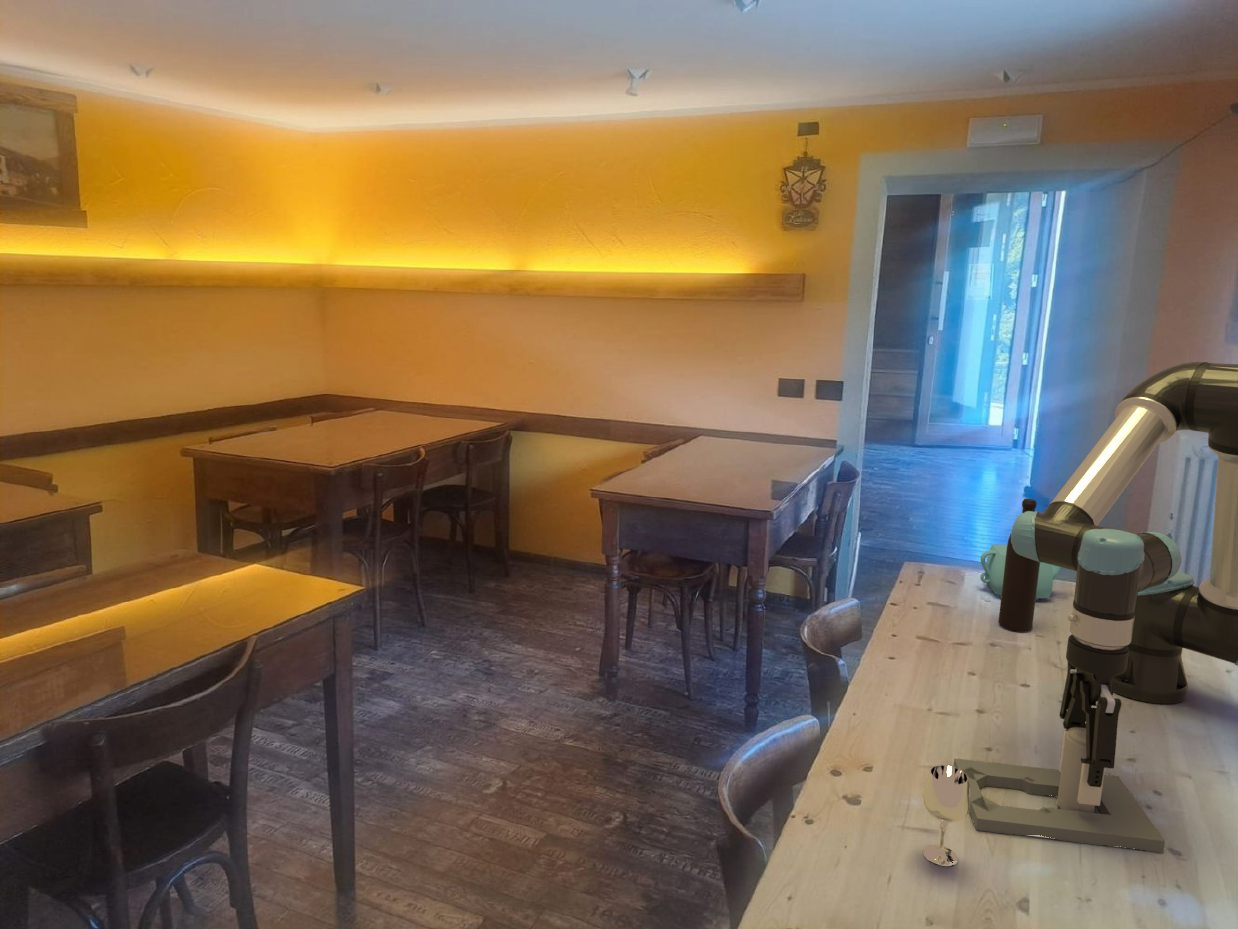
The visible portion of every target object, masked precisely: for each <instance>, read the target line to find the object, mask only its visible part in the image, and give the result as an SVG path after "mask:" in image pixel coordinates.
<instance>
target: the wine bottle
mask: <svg viewBox="0 0 1238 929" xmlns="http://www.w3.org/2000/svg"><path fill="white" fill-rule="evenodd" d="M1037 504H1038V503H1037V500H1035V499H1033V498H1023V500H1022V502H1021V507H1022V510H1021V514H1022V513H1025V512H1026V511H1032V512H1036V508H1037ZM1006 545H1007V551H1006V560H1005V568H1004V577H1003V586H1002V595H1000V607H999V612H998V613H999V616H998V625H999V626H1000V628H1002V629H1005V630H1007V631H1010V632H1016V633H1027V632H1030V631H1032V630H1033V624H1034V617H1035V615H1034V614H1035V607H1036V601H1035V600H1036V592H1037V584H1038V576H1039V567H1040V562H1037V561H1035V560H1032V559H1029V558H1026V557H1023V556H1021V555H1019V554H1017V553H1016V552H1015V551H1014V549H1013V547H1012V546H1013V545H1012V543H1011V533H1010V534H1009V537H1008V540H1007V544H1006Z"/></svg>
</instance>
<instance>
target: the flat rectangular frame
mask: <svg viewBox="0 0 1238 929" xmlns="http://www.w3.org/2000/svg"><path fill="white" fill-rule="evenodd" d="M953 767H955V768H957V769H960V770H961V771H963V772H964V773H965V774H966V775H967V777H968V781H969V787H970V807H969V811H970V812H969V811H968V812H969V814H970V813H971V815H970V817H972V818H971V820H972V819H973V820H972V822H973V821H974V823H973V825H974V824H975V826H974V828H976V829H977V830H976V829H975V830H976V831H979V832H980V831H982V832H990V833H997V834H998V833H999V834H1004V835H1005V834H1007V835H1013V834H1015V836H1021V835H1040V836H1041V835H1042V836H1044V837H1045V836H1046V837H1049V838H1050V837H1051V838H1055V839H1060V840H1059V841H1062V840H1063V842H1073V843H1079V844H1086V845H1094V844H1095V845H1096V846H1102V845H1109V846H1108V847H1111V846H1119V847H1120V846H1121V847H1126V848H1125V849H1127V848H1135V849H1140V850H1139V851H1143V850H1146V851H1145V852H1151V851H1153V853H1159V852H1162V853H1161V854H1164V850H1165V842H1166V841H1165V839H1164V838H1163V836H1162V835H1161V833H1160V832H1159V831H1158V829H1157V828H1156V826H1155V825H1154V824H1153V822H1152V821H1151V819H1150V818H1149V816H1148V815H1147V814H1146V812H1145V811H1144V810H1143V808H1142V807H1141V806H1140V804H1139V802H1138V801H1137V800H1136V799H1135V797H1134V796H1133V794H1132V793H1131V792H1130V790H1129V789H1128V787H1127V785H1126V784H1125V783H1124V781H1123V780H1122V779H1121V778H1120V776H1119V775H1109V774H1104V780H1103V787H1102V794H1101V801H1100V806H1097V805H1095V807H1097V809H1098V808H1099V809H1098V811H1099V810H1100V811H1099V812H1100V813H1097V812H1096V813H1095V812H1094V813H1090V812H1081V811H1073V810H1064V809H1060V808H1054V807H1047V806H1046V807H1045V806H1042V807H1041V808H1039V809H1036V808H1035V809H1034V808H1033V809H1032V808H1025V807H1024V808H1023V807H1017V806H1008V805H1007V806H1006V805H1000V804H999V803H996V802H994V801H993V800H991V799H989V798H987V797H985V796H984V795H983V794H982V792H981V789H982V788H985V787H992V788H994V787H995V788H1000V789H1001V788H1003V789H1012V790H1020V791H1023V792H1025V793H1026V792H1027V793H1026V794H1028V793H1029V795H1034V794H1036V795H1037V794H1038V795H1037V796H1043V795H1050V796H1049V797H1052V796H1057V797H1056V798H1058V791H1059V784H1060V776H1061V772H1060V771H1059V769H1054V768H1053V769H1052V768H1047V767H1035V766H1026V765H1019V764H1018V765H1017V764H1009V763H1000V762H999V763H997V762H992V761H990V762H989V761H982V760H981V761H980V760H973V759H972V760H971V759H964V758H963V759H962V758H956V757H955V758H954V759H953ZM1051 795H1052V796H1051ZM1101 813H1102V814H1101ZM1017 834H1018V835H1017ZM1119 847H1118V848H1119ZM1135 849H1134V850H1135ZM1154 851H1155V852H1154Z"/></svg>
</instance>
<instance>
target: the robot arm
mask: <svg viewBox="0 0 1238 929" xmlns="http://www.w3.org/2000/svg"><path fill="white" fill-rule="evenodd" d="M1114 417H1115V419H1114V420H1113V422H1112V423H1111V424H1110V425H1109V427H1108V428H1107V429H1106V431H1105V432H1104V433H1103V434H1102V436H1101V437H1100V438H1099V440H1098V442H1096V444H1095V445H1094V446H1093V447H1092V449H1091V450H1090V451H1089V453H1087V456H1085V458H1084V459H1083V461H1082V462H1081V463H1080V465H1078V467H1077V469H1075V471H1074V472H1073V473H1072V475H1071V476H1070V478H1069V479H1067V482H1065V484H1064V486H1063V487H1062V488H1061V489H1060V490H1059V491H1058V493H1057V494H1056V496H1055V497H1053V500H1051V502H1050V503H1049V504H1048V505H1047V507H1046V508H1045V509H1044V510H1043V512H1040V511H1037V510H1035V512H1032V511H1026V512H1025V513H1022V512H1021V513H1020V514H1019V515H1018V516H1017V518H1016V519H1015V521H1014V523H1013V525H1012V528H1011V533H1010V534H1011V543H1012V545H1013V546H1012V547H1013V549H1014V551H1015V552H1016V553H1017V554H1019V555H1021V556H1023V557H1026V558H1029V559H1032V560H1035V561H1037V562H1040V563H1042V562H1043V563H1047V564H1051V565H1055V566H1059V567H1062V568H1063V569H1067V570H1070V571H1075V572H1076V578H1075V585H1074V595H1073V596H1074V597H1073V602H1072V611H1071V612H1072V613H1071V614H1068V615H1067V621H1069V622H1070V625H1069V632H1070V635H1069V636H1068V638H1067V646H1066V653H1065V658H1066V661H1067V674H1066V680H1065V684H1064V688H1063V695H1062V700H1061V705H1060V710H1059V718H1060V719H1061V720H1063V721H1062V726H1063V729H1065V730H1064V731H1063V738H1062V744H1061V745H1062V746H1061V750H1060V751H1061V752H1060V760H1059V766H1058V770H1059V771H1060V772H1061V769H1062V761H1063V754H1064V746H1065V739H1066V734H1067V732H1068V730H1069V729H1070V728H1075V727H1078V728H1085V729H1086V759H1085V758H1081V762H1082V769H1081V776H1080V784H1079V791H1078V798H1077V801H1078V803H1079V804H1088V805H1095V806H1096V805H1097V806H1100V801H1101V794H1102V787H1103V780H1104V775H1105V771H1106V769H1112V770H1113V769H1114V768H1115V761H1116V748H1117V736H1118V724H1119V714H1120V711H1121V709H1122V708H1121V707H1122V701H1121V698H1114V697H1113V696H1114V693H1115V694H1118V695H1120V696H1123V697H1126V698H1130V699H1132V700H1137V701H1140V702H1146V703H1152V704H1162V705H1165V704H1169V705H1170V704H1177V703H1181V702H1183V701H1184V700H1186V698H1187V695H1188V688H1189V685H1188V680H1187V676H1186V671H1185V667H1184V663H1183V657H1182V655H1183V654H1182V653H1183V649H1186V650H1188V651H1192V652H1195V653H1199V654H1200V655H1201V654H1202V655H1206V656H1208V657H1212V658H1214V659H1219V660H1222V661H1225V662H1228V663H1232V664H1234V665H1235V666H1237V667H1238V363H1237V364H1235V363H1219V362H1218V363H1217V362H1215V363H1214V362H1208V361H1207V362H1206V361H1189V362H1184V363H1179V364H1176V365H1173V366H1170V367H1168V368H1166V369H1163V370H1161V371H1159V372H1156V373H1155V374H1153V375H1151V376H1149V377H1147V378H1145V380H1143V381H1142V382H1141V383H1139V384H1137V385H1136V386H1135V387H1134V388H1133V389H1132V390H1130V391H1129V392H1128V393H1127V394H1125V396H1124V397H1123V399H1122V400H1121V401H1120V402H1119V403H1118V405H1117V406H1116V408H1115V411H1114ZM1185 430H1186V431H1192V432H1200V433H1201V432H1202V433H1206V434H1208V437H1207V438H1208V440H1207V447H1208V448H1209V449H1210V450H1211V451H1212V452H1213V453H1214V454H1216V455H1217V470H1216V484H1215V497H1214V500H1215V502H1214V512H1213V513H1214V514H1213V530H1212V542H1211V543H1212V544H1211V555H1210V556H1211V558H1210V571H1209V572H1210V573H1209V578H1208V579H1205V580H1203V581H1202V582H1201V583H1200V584H1199V586H1195V580H1194V578H1193V577H1194V576H1192V575H1190V574H1187V572H1183V571H1182V572H1181V571H1179V570H1180V569H1181V565H1182V554H1181V550H1180V548H1179V546H1178V545H1177V543H1176V542H1175V540H1173V539H1172V538H1170V537H1169V536H1167V535H1166V534H1163V533H1160V532H1157V531H1141V532H1139V533H1132V532H1129V531H1126V530H1119V529H1113V528H1109V527H1104V526H1099V524H1100V523H1101V522H1102V521H1103V519H1104V517H1105V516H1106V515H1107V513H1109V511H1110V510H1111V508H1112V507H1113V506H1114V504H1115V503H1116V502H1117V501H1118V499H1119V497H1120V496H1121V495H1122V493H1123V492H1124V491H1125V489H1126V488H1127V487H1128V485H1130V484H1129V483H1131V481H1132V480H1133V478H1134V477H1135V476H1136V475H1137V473H1138V472H1139V471H1140V469H1141V468H1142V466H1143V465H1144V464H1145V462H1146V461H1147V460H1148V459H1149V457H1150V455H1151V454H1152V453H1153V452H1154V450H1155V449H1156V447H1158V445H1159V443H1163V442H1166V441H1168V440H1169V439H1171V438H1172V437H1173V436H1174V435H1175V433H1176V432H1178V431H1185ZM1092 706H1093V707H1092ZM1097 806H1096V807H1097Z"/></svg>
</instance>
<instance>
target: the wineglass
mask: <svg viewBox="0 0 1238 929" xmlns="http://www.w3.org/2000/svg"><path fill="white" fill-rule="evenodd" d="M924 784H925V785H924V787H923V788H924V789H923V794H922V797H923V805H924V807H925V809H926V811H927V812H928V814H929V815H930V816H932V817H933V818H935V819H936V820H938V821H940V822H939V829H940V838H939V839H940V840H939V844H930V845H927V846H925V847H924V848H923V850H922V853H923V854H922V855H923V856H924V858H925V857H926V858H925V860H927V861H928V862H930V861H932V862H934V863H936V864H938V863H939V864H940V865H944V864H945V865H949V864H950V862H952V861H958V862H959V857H957V856H958V854H956V852H955V851H954V850H952V849H950V848H949V847H947V846H944V844H945V836H946V833H947V831H948V826H949V824H948V823H951V824H952V823H958V822H960V821H962V820H963V819H964V818H966V817H967V815H968V813H969V807H970V787H969V781H968V777H967V775H966V774H965V773H964V772H963V771H961V770H960V769H957V768H955V767H954V766H951V765H946V764H945V765H944V764H938V765H933V766H932V767H931V768H930V771H929V773H928V774H927V778H926V780H925V783H924ZM952 863H953V862H952ZM945 865H944V866H945Z"/></svg>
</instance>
